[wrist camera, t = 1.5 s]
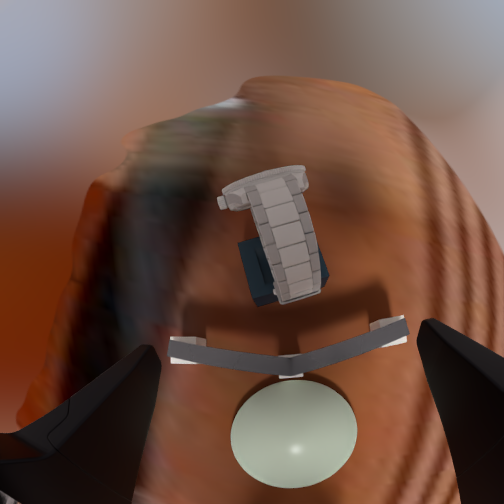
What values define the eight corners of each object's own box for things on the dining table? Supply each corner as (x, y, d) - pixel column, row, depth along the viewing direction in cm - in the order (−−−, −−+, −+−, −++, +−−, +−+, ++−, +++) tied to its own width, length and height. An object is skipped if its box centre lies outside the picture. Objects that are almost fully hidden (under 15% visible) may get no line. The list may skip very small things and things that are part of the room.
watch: (299, 219, 23) (301, 125, 13) (331, 307, 20) (368, 258, 10) (238, 237, 24) (200, 152, 14) (262, 328, 21) (234, 300, 10)
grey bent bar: (401, 319, 17) (407, 317, 16) (405, 356, 16) (412, 356, 15) (173, 340, 18) (166, 339, 17) (174, 376, 17) (167, 377, 16)
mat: (341, 487, 14) (342, 490, 14) (224, 475, 16) (222, 477, 16) (364, 383, 18) (367, 384, 17) (242, 371, 19) (240, 372, 19)
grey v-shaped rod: (391, 320, 19) (403, 315, 17) (396, 358, 18) (408, 358, 16) (182, 339, 21) (170, 336, 19) (184, 377, 20) (171, 379, 17)
